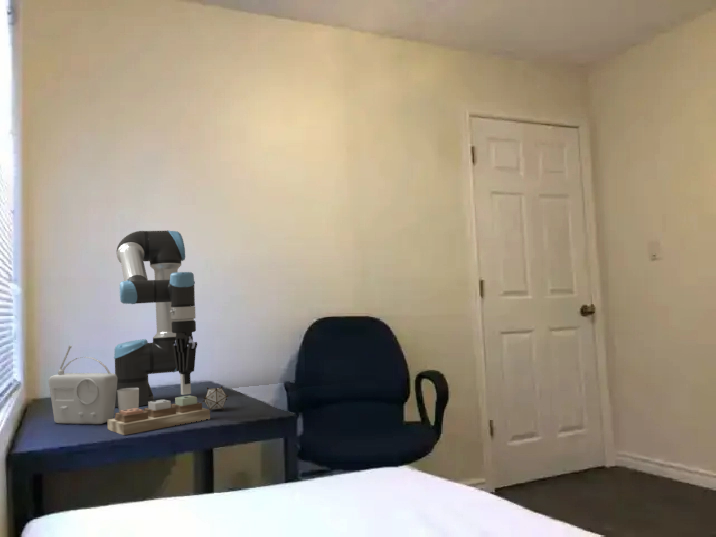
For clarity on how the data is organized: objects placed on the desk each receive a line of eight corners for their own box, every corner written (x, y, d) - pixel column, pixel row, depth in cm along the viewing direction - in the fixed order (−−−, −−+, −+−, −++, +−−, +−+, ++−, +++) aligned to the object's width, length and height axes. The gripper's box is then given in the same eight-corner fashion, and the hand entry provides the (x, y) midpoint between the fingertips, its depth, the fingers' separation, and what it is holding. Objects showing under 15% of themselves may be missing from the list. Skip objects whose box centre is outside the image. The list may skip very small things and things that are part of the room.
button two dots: (148, 409, 203) (148, 401, 203) (163, 407, 207) (163, 399, 207) (155, 411, 200) (155, 403, 200) (170, 409, 203) (170, 400, 203)
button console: (107, 429, 198) (107, 412, 198) (191, 414, 217) (191, 399, 217) (123, 435, 189) (123, 417, 189) (210, 419, 208) (209, 403, 208)
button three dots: (120, 418, 197) (119, 410, 197) (136, 416, 201) (135, 407, 201) (126, 420, 194) (126, 412, 194) (143, 418, 197) (142, 409, 197)
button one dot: (175, 405, 209) (175, 397, 209) (189, 403, 213) (189, 395, 213) (182, 407, 206) (182, 398, 206) (197, 404, 209) (196, 396, 209)
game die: (219, 422, 221) (220, 401, 216) (197, 413, 223) (197, 392, 218) (232, 404, 229) (233, 384, 223) (210, 396, 230) (211, 375, 225)
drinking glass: (115, 420, 211) (114, 389, 212) (136, 417, 215) (135, 387, 216) (121, 423, 206) (120, 391, 206) (142, 420, 210) (141, 389, 210)
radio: (45, 424, 210) (43, 346, 210) (63, 419, 218) (61, 344, 218) (103, 426, 204) (101, 345, 205) (120, 420, 212) (118, 343, 213)
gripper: (163, 320, 212) (165, 393, 212) (182, 321, 203) (184, 397, 202) (184, 319, 217) (187, 390, 217) (204, 319, 208) (206, 394, 207)
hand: (185, 393), depth 209 cm, fingers closed
